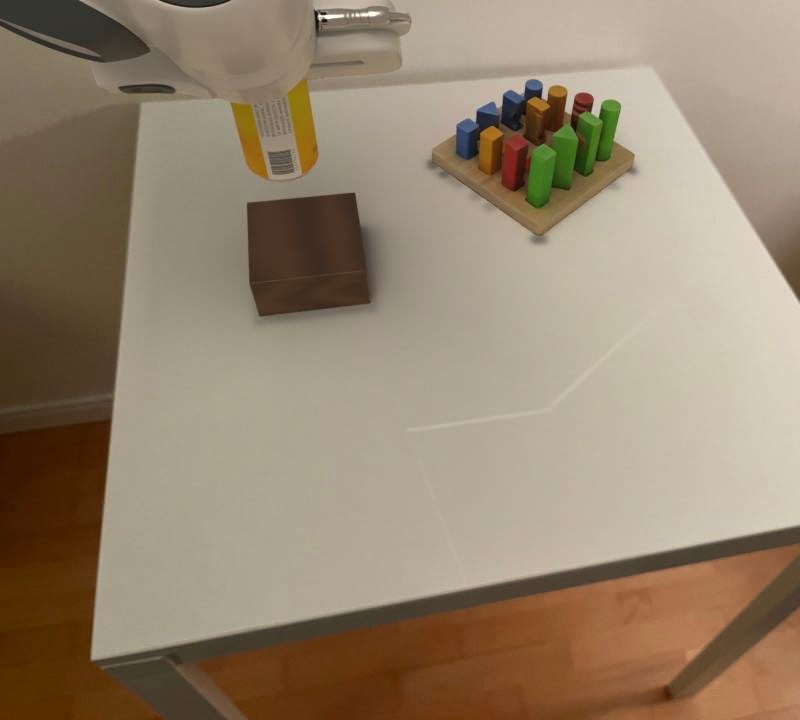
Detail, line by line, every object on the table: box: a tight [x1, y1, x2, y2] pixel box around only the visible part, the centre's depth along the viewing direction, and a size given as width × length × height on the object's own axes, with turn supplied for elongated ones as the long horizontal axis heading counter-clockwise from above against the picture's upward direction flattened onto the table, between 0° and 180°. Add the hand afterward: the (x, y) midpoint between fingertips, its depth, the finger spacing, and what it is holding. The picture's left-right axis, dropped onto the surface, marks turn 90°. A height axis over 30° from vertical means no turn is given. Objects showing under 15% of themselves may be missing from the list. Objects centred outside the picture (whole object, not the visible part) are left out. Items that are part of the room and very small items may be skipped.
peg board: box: [431, 78, 636, 236], centre depth 85 cm, size 18×17×9 cm
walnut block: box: [246, 192, 371, 317], centre depth 75 cm, size 11×11×5 cm
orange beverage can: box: [229, 79, 319, 184], centre depth 57 cm, size 6×6×15 cm
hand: (264, 71), depth 57 cm, fingers closed on orange beverage can, 6 cm apart
